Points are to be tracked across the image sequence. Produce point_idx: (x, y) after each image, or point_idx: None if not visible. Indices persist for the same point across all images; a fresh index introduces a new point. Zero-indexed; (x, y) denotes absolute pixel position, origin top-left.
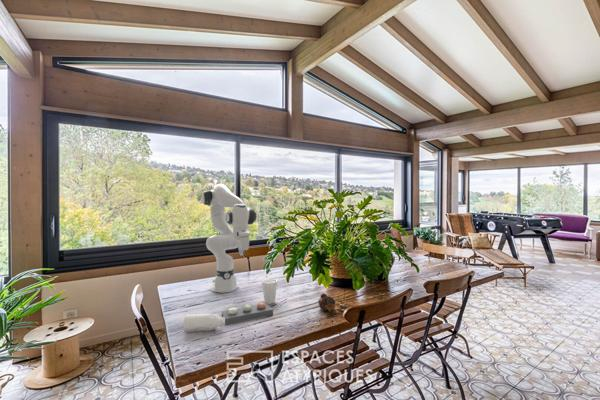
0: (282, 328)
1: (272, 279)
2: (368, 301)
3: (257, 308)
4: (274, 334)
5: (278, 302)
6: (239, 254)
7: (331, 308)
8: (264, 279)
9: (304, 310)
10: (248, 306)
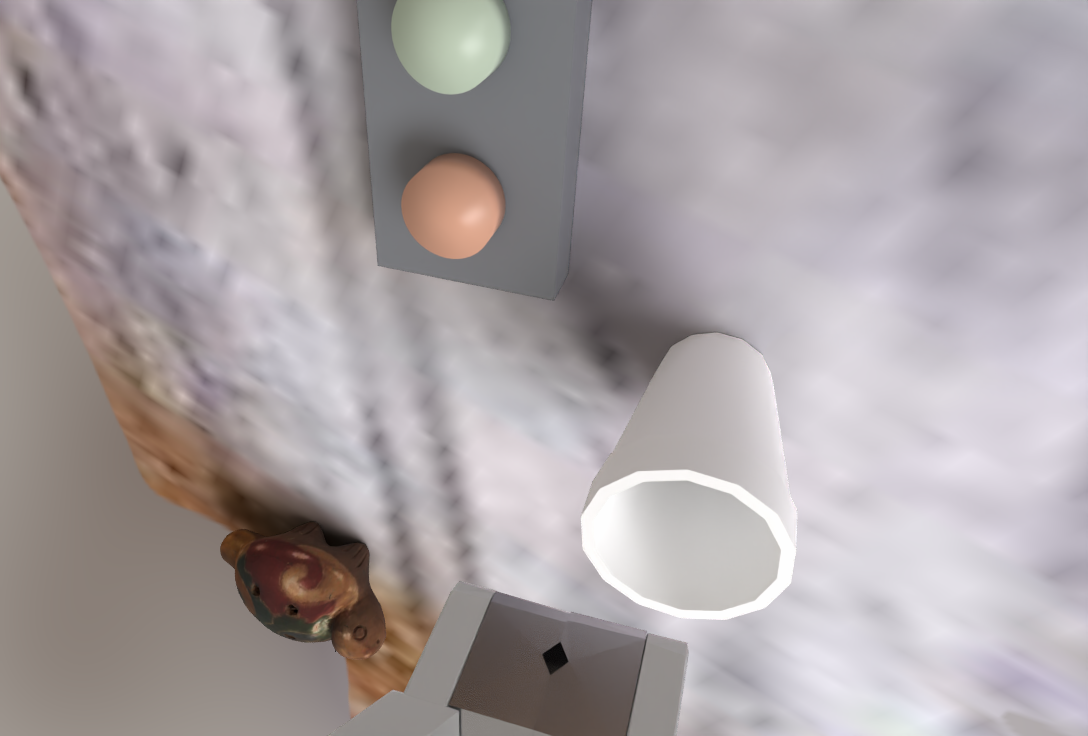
0: (137, 170)
1: (733, 602)
2: None
3: (467, 153)
4: (53, 65)
5: None
6: (619, 645)
7: (220, 549)
8: (793, 546)
9: (380, 460)
10: (431, 48)
